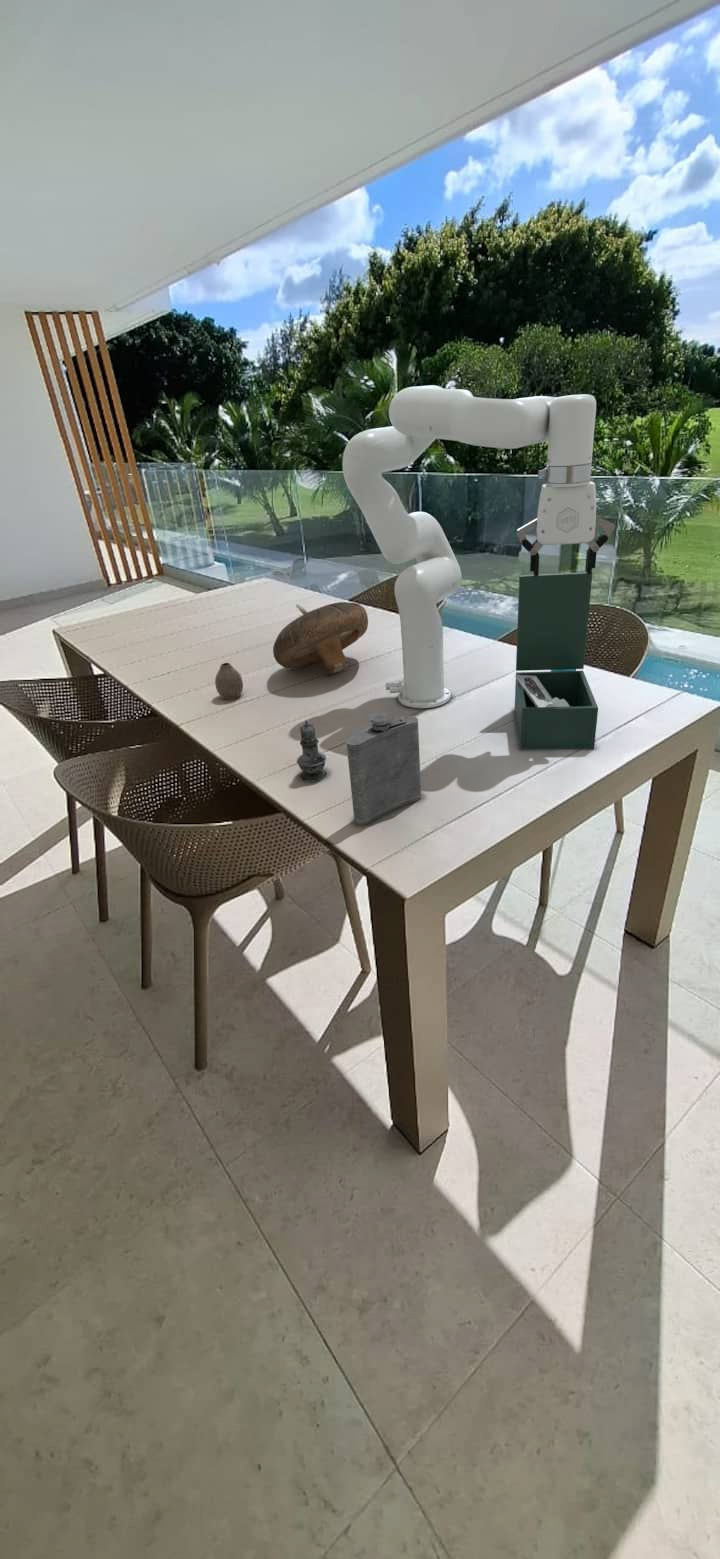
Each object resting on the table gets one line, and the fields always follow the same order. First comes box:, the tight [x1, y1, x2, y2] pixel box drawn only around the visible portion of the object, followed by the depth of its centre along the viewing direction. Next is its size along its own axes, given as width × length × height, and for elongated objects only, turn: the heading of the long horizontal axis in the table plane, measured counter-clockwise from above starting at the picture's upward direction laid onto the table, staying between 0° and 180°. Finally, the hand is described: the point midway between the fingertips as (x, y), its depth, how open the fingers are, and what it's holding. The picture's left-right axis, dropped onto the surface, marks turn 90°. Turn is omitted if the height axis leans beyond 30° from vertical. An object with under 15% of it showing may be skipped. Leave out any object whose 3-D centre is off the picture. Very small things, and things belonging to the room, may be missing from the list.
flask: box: [345, 712, 422, 826], centre depth 116 cm, size 4×14×18 cm, turn 125°
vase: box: [214, 662, 244, 700], centre depth 171 cm, size 7×7×9 cm
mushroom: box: [272, 601, 369, 675], centre depth 180 cm, size 28×23×25 cm
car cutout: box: [514, 674, 570, 707], centre depth 139 cm, size 15×7×4 cm
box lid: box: [515, 571, 593, 672], centre depth 143 cm, size 21×14×5 cm
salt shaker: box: [296, 720, 328, 783], centre depth 130 cm, size 6×6×12 cm
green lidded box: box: [514, 670, 599, 750], centre depth 140 cm, size 20×14×9 cm
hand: (561, 573), depth 127 cm, fingers open, 9 cm apart
